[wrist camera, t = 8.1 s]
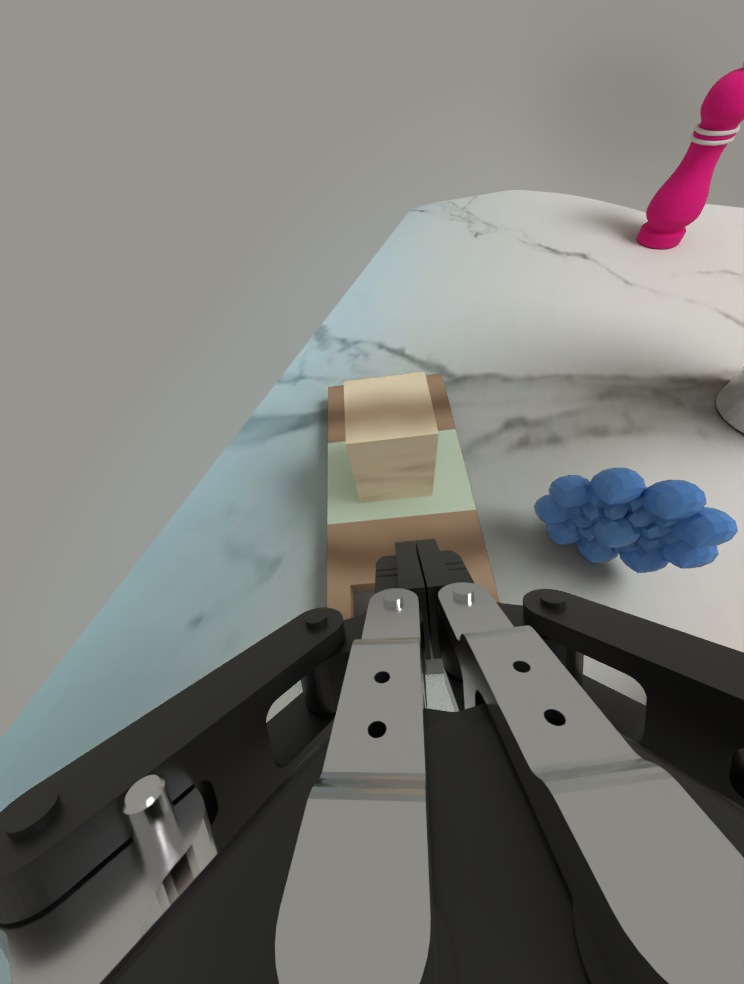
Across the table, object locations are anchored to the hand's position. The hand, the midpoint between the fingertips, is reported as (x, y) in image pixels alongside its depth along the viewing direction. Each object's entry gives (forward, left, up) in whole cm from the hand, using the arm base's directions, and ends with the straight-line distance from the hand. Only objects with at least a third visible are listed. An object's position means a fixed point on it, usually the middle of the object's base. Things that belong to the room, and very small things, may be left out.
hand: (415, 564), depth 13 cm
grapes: (-15, +11, -19) cm, 27 cm away
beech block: (-14, -8, -17) cm, 23 cm away
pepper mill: (-75, +12, -19) cm, 78 cm away
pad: (-14, -8, -19) cm, 25 cm away
